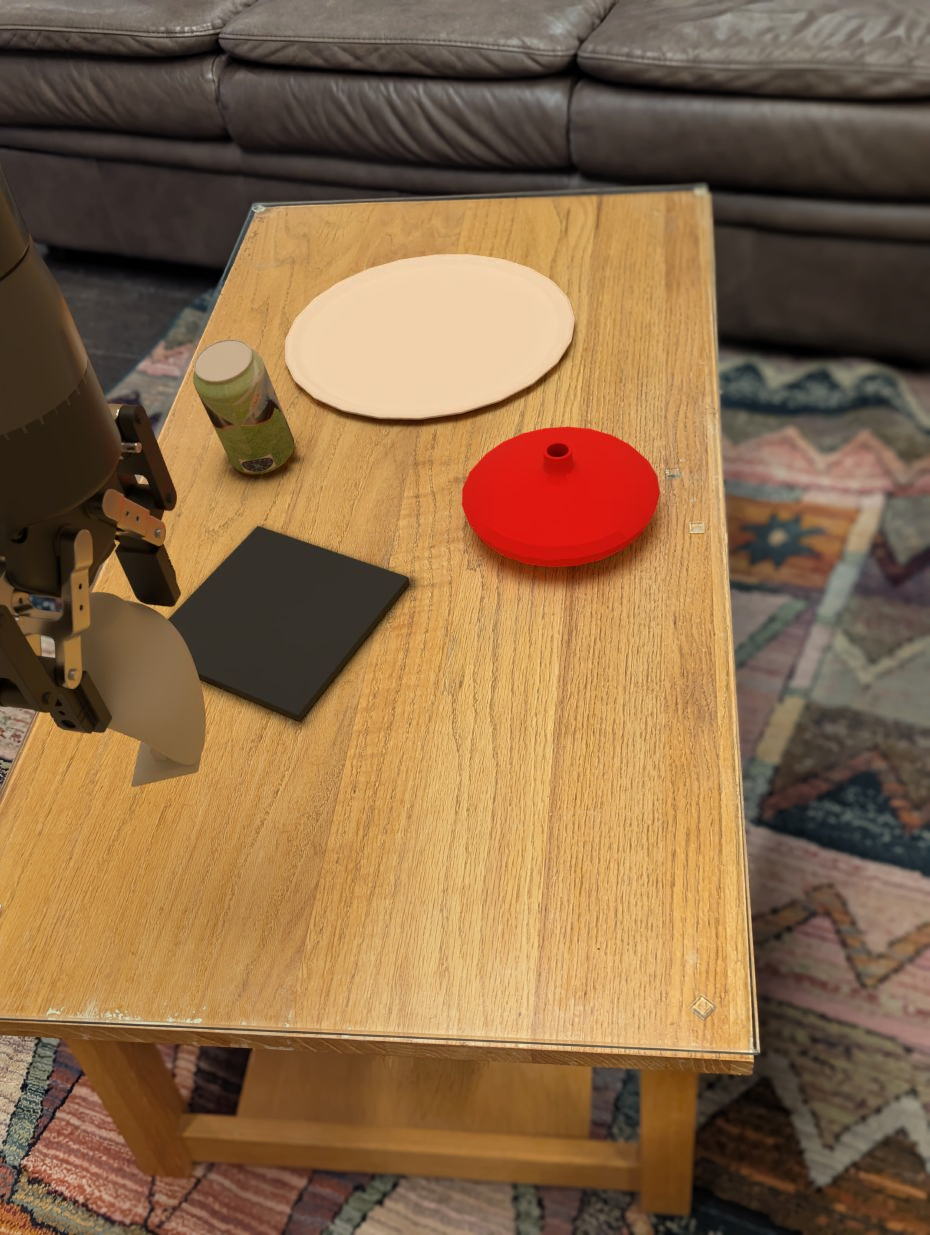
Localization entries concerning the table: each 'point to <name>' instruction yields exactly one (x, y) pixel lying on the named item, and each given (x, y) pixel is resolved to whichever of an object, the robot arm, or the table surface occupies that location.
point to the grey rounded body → (146, 685)
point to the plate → (429, 336)
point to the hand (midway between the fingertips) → (127, 660)
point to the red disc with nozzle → (560, 496)
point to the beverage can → (243, 406)
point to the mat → (283, 619)
